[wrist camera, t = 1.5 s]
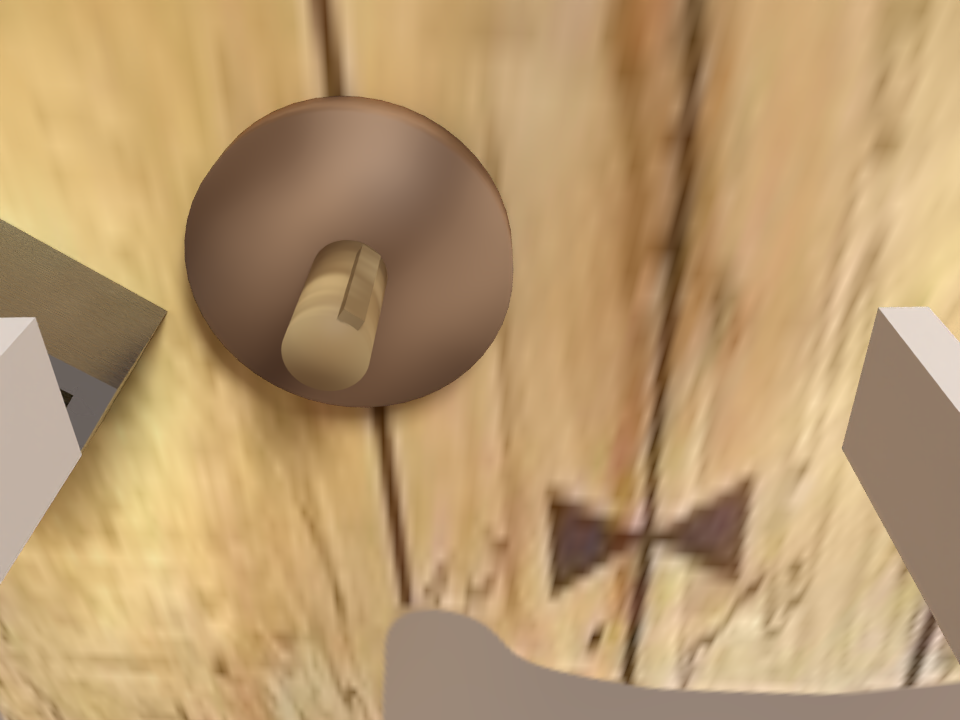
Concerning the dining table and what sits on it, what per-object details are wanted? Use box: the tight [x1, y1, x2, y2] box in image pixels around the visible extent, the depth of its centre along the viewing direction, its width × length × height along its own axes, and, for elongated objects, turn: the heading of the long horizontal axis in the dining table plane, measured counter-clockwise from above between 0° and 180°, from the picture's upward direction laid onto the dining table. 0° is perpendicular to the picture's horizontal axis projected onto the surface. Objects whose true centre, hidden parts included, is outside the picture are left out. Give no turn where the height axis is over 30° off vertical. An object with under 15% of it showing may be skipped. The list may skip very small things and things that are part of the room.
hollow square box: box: [0, 219, 167, 454], centre depth 36 cm, size 8×8×6 cm
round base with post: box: [185, 96, 513, 407], centre depth 33 cm, size 13×13×8 cm
